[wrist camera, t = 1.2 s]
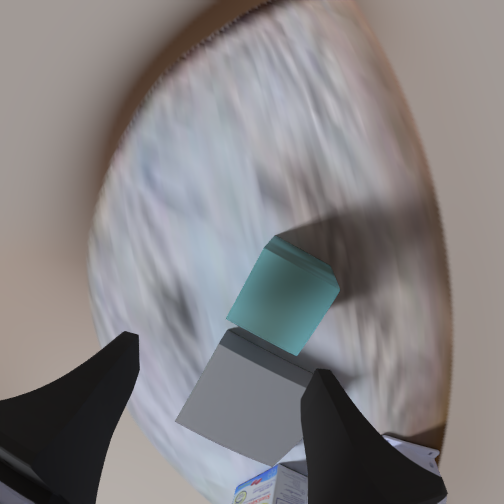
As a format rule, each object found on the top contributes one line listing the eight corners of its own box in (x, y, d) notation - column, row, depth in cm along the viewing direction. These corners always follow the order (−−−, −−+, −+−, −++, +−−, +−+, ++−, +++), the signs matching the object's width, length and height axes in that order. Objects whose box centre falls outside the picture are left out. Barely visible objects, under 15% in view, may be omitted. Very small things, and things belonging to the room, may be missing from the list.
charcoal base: (334, 383, 22) (337, 401, 19) (275, 449, 24) (272, 466, 21) (227, 329, 22) (218, 343, 20) (184, 405, 25) (174, 421, 22)
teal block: (330, 265, 20) (340, 289, 15) (299, 317, 21) (296, 356, 16) (274, 235, 21) (263, 247, 15) (246, 288, 22) (225, 318, 16)
